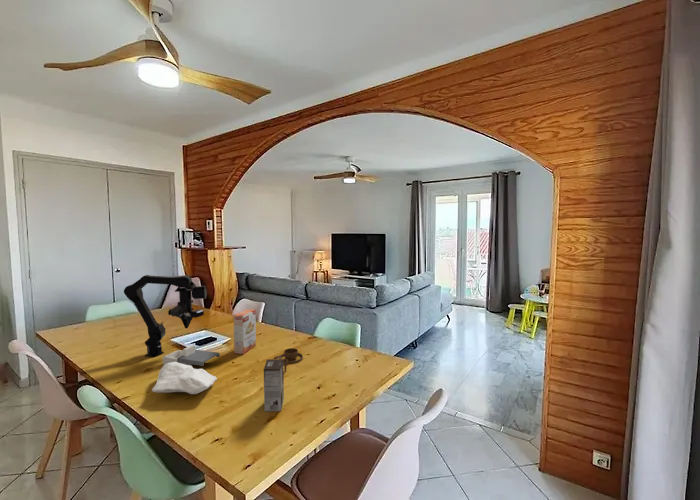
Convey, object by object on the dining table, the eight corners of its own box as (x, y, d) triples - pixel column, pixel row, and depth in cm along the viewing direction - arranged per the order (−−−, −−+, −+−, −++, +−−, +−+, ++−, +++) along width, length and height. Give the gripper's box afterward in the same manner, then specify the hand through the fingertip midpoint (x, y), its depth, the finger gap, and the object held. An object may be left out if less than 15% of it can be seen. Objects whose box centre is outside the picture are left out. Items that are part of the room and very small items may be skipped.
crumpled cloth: (167, 413, 120) (171, 387, 121) (134, 382, 143) (137, 360, 144) (228, 398, 138) (231, 375, 138) (190, 372, 161) (193, 353, 161)
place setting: (312, 359, 173) (312, 348, 173) (286, 374, 156) (286, 361, 155) (285, 353, 182) (285, 342, 181) (258, 366, 164) (258, 354, 164)
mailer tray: (162, 364, 166) (162, 357, 165) (178, 356, 175) (178, 349, 175) (186, 368, 161) (185, 360, 161) (201, 360, 171) (201, 352, 171)
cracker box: (244, 354, 178) (243, 315, 176) (233, 354, 179) (232, 315, 177) (256, 345, 191) (256, 309, 190) (247, 344, 193) (246, 308, 191)
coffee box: (267, 399, 133) (266, 359, 131) (284, 398, 133) (283, 358, 132) (263, 412, 124) (262, 369, 122) (281, 411, 124) (280, 368, 123)
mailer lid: (177, 362, 162) (176, 350, 161) (195, 353, 173) (194, 342, 172) (203, 365, 157) (202, 354, 157) (219, 356, 168) (219, 345, 168)
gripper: (159, 301, 175) (160, 331, 176) (188, 304, 169) (189, 334, 170) (176, 297, 186) (177, 325, 187) (204, 299, 180) (205, 328, 181)
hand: (186, 328), depth 181 cm, fingers closed
